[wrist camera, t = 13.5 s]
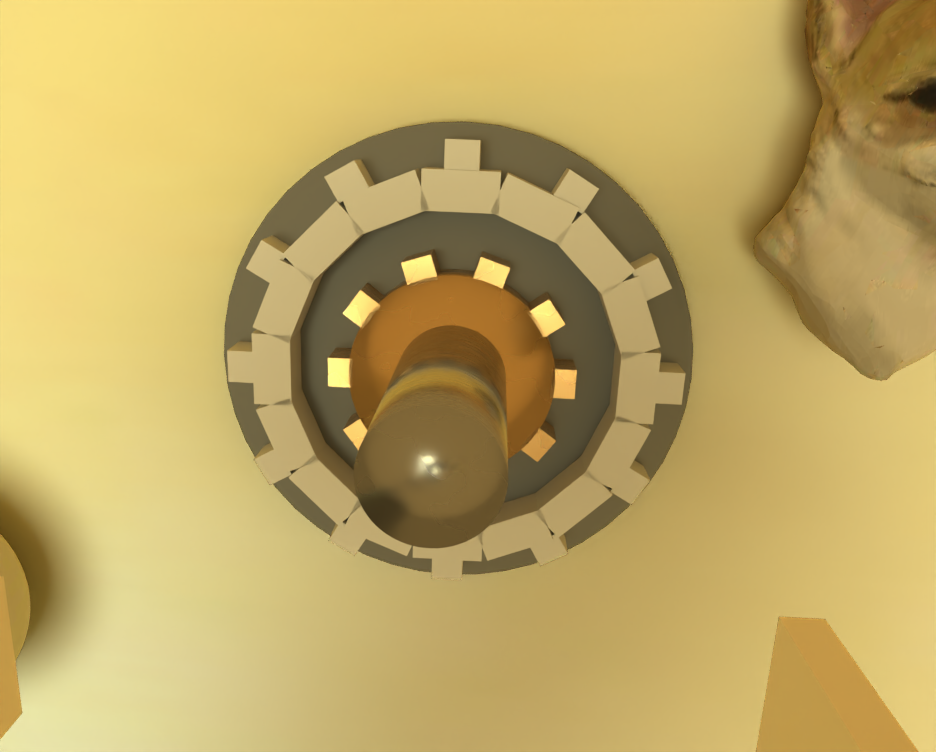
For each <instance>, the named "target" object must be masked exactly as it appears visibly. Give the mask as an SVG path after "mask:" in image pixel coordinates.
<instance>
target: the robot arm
mask: <svg viewBox="0 0 936 752" xmlns="http://www.w3.org/2000/svg"><path fill="white" fill-rule="evenodd" d="M21 714H22V707H21V700H20V692H19V685H18V678H17V670H16V663H15V656H14V649H13V641H12V634H11V627H10V619H9V612H8V605H7V597H6V590H5V583H4V576H0V739H1V738H2V737H3V735H4V734H5V733H6V732H7V731H8V729H9V728H10V727H11V726H12V725H13V723H14V722H15V721H16V720H17V719H18V717H19V716H20V715H21ZM756 752H918V750H917V749H916V747H915V746H914V745H913V743H912V742H911V740H910V739H909V737H908V736H907V735H906V733H905V732H904V730H903V729H902V728H901V726H900V725H899V723H898V722H897V720H896V719H895V718H894V716H893V715H892V713H891V712H890V711H889V709H888V708H887V706H886V705H885V703H884V702H883V701H882V699H881V698H880V696H879V695H878V694H877V692H876V691H875V689H874V688H873V686H872V685H871V684H870V682H869V681H868V679H867V678H866V677H865V675H864V674H863V672H862V671H861V669H860V668H859V667H858V665H857V664H856V662H855V661H854V660H853V658H852V657H851V655H850V654H849V652H848V651H847V650H846V648H845V647H844V645H843V644H842V643H841V641H840V640H839V638H838V637H837V635H836V634H835V633H834V631H833V630H832V628H831V627H830V626H829V624H828V623H827V621H826V620H825V619H814V618H795V617H779V619H778V625H777V631H776V637H775V642H774V648H773V654H772V660H771V666H770V672H769V678H768V684H767V689H766V695H765V701H764V707H763V713H762V719H761V725H760V730H759V736H758V742H757V748H756Z"/></svg>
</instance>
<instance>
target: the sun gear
mask: <svg viewBox="0 0 936 752" xmlns="http://www.w3.org/2000/svg"><path fill="white" fill-rule="evenodd" d="M401 265H402V268H403V271H404V275H405V278H406V280H405V281H404V282H402V283H400V284H399V285H397V286H396V287H394V288H393V289H392V290H391V291H389V292H388V293H387V294H386V295H385V296H384V295H382V294H381V293H380V292H379V291H377V290H376V289H375V288H373V287H372V286H371V285H370V284H368V283H367V284H366V285H365V286H364V287H363V288H362V289H361V290H360V291H359V293H358V294H357V295H356V297H355V298H354V299H353V301H352V302H351V303H350V304H349V306H348V307H347V308H346V310H345V311H344V312H343V314H344V315H345V316H346V317H348V318H349V319H350V320H352V321H353V322H354V323H356V324H357V325H358V326H359V327H360V329H359V331H358V333H357V335H356V337H355V340H354V343H353V346H352V348H335V350H334V351H333V352H332V353H331V355H330V356H329V357H328V386H329V387H349V388H350V392H351V397H352V401H353V403H354V406H355V409H356V413H355V414H353V415H352V416H350V418H349V420H348V422H347V423H346V425H345V427H344V429H343V430H344V432H345V433H346V434H347V436H348V437H349V438H350V440H351V441H352V442H353V444H354V445H355V446H356V448H357V449H358V453H357V456H356V460H355V464H354V485H355V490H356V494H357V497H358V500H359V502H360V504H361V506H362V508H363V510H364V512H365V513H366V514H367V516H368V517H369V519H370V520H371V521H372V522H373V523H374V524H375V525H376V526H377V527H378V528H379V529H380V530H382V531H383V532H384V533H386V534H387V535H389V536H390V537H392V538H394V539H396V540H398V541H400V542H402V543H405V544H408V545H411V546H416V547H421V548H445V547H451V546H455V545H459V544H461V543H464V542H466V541H468V540H470V539H472V538H474V537H476V536H477V535H479V534H480V533H481V532H483V531H484V530H485V529H486V528H487V527H488V526H489V525H490V524H491V523H492V522H493V521H494V519H495V518H496V517H497V515H498V513H499V512H500V510H501V508H502V506H503V503H504V501H505V497H506V494H507V488H508V459H509V458H511V457H512V456H513V455H515V454H516V453H518V452H519V451H520V450H522V451H523V452H525V453H526V454H527V455H529V456H530V457H531V458H533V459H534V460H535V461H537V462H538V461H539V460H540V459H541V458H542V456H543V455H544V454H545V453H546V452H547V451H548V450H549V449H550V447H551V446H552V445H553V444H554V443H555V442H556V437H555V431H554V427H553V426H552V425H550V424H549V423H548V422H547V421H545V419H546V416H547V414H548V412H549V409H550V406H551V403H552V399H553V398H563V399H575V388H576V376H577V369H576V366H575V363H574V360H573V359H556V358H554V357H553V353H552V349H551V345H550V342H549V338H548V335H549V334H551V333H553V332H554V331H556V330H557V329H559V328H561V327H562V326H564V325H565V322H564V319H563V316H562V314H561V313H560V311H559V310H558V308H557V307H556V305H555V303H554V302H553V300H552V299H551V297H550V296H549V294H548V293H547V291H546V292H545V293H543V294H542V295H540V296H539V297H537V298H535V299H534V300H532V301H531V302H529V303H528V301H527V300H525V299H524V298H523V297H522V296H521V295H520V294H519V293H518V292H517V291H515V290H514V289H513V288H511V287H510V286H509V285H507V284H505V281H506V278H507V275H508V273H509V270H510V262H509V261H507V260H504V259H501V258H499V257H496V256H493V255H491V254H488V253H486V252H483V251H482V253H481V255H480V258H479V261H478V263H477V266H476V269H475V271H471V270H463V269H442V270H440V267H439V264H438V260H437V257H436V253H435V250H434V249H432V250H429V251H425V252H421V253H418V254H414V255H411V256H407V257H405V258H404V260H403V261H402V262H401Z"/></svg>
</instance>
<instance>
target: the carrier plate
mask: <svg viewBox="0 0 936 752" xmlns="http://www.w3.org/2000/svg"><path fill="white" fill-rule="evenodd" d="M432 249H434V250H435V253H436V257H437V260H438V264H439V267H440V270H442V269H463V270H471V271H475V269H476V266H477V263H478V261H479V258H480V255H481V253H482V251H483V252H486V253H488V254H491V255H493V256H496V257H499V258H501V259H504V260H507V261H509V262H510V270H509V273H508V275H507V278H506V281H505V284H507V285H509V286H510V287H511V288H513V289H514V290H515V291H517V292H518V293H519V294H520V295H521V296H522V297H523V298H524V299H525V300H527V301H528V303H529V302H531V301H532V300H534V299H535V298H537V297H539V296H540V295H542V294H543V293H545V292H546V291H547V293H548V294H549V296H550V297H551V299H552V300H553V302H554V303H555V305H556V307H557V308H558V310H559V311H560V313H561V314H562V316H563V319H564V322H565V325H564V326H562V327H561V328H559V329H557V330H556V331H554V332H553V333H551V334H549V335H548V338H549V342H550V345H551V349H552V353H553V357H554V358H556V359H573V360H574V363H575V366H576V369H577V376H576V388H575V399H563V398H553V399H552V403H551V406H550V409H549V412H548V414H547V416H546V419H545V421H547V422H548V423H549V424H550V425H552V426H553V427H554V431H555V437H556V442H555V443H554V444H553V445H552V446H551V447H550V449H549V450H548V451H547V452H546V453H545V454H544V455H543V456H542V458H541V459H540V460H539V461H538V462H537V461H535V460H534V459H533V458H531V457H530V456H529V455H527V454H526V453H525V452H523V451H522V450H520V451H519V452H518V453H516V454H515V455H513V456H512V457H511V458H509V459H508V488H507V494H506V497H505V501H504V503H503V506H502V508H501V510H500V512H499V513H498V515H497V517H496V518H495V519H494V521H493V522H492V523H491V524H490V525H489V526H488V527H487V528H486V529H485V530H484V531H483V532H481V533H480V534H479V535H477V536H476V537H474V538H472V539H470V540H468V541H466V542H464V543H461V544H459V545H455V546H451V547H445V548H421V547H416V546H411V545H408V544H405V543H402V542H400V541H398V540H396V539H394V538H392V537H390V536H389V535H387V534H386V533H384V532H383V531H382V530H380V529H379V528H378V527H377V526H376V525H375V524H374V523H373V522H372V521H371V520H370V519H369V517H368V516H367V514H366V513H365V512H364V510H363V508H362V506H361V504H360V502H359V500H358V497H357V494H356V490H355V485H354V464H355V460H356V456H357V453H358V449H357V448H356V446H355V445H354V444H353V442H352V441H351V440H350V438H349V437H348V436H347V434H346V433H345V432H344V430H343V429H344V427H345V425H346V423H347V422H348V420H349V418H350V416H352V415H353V414H355V413H356V409H355V406H354V403H353V401H352V397H351V392H350V388H349V387H329V386H328V357H329V356H330V355H331V353H332V352H333V351H334V350H335V348H352V346H353V343H354V340H355V337H356V335H357V333H358V331H359V329H360V327H359V326H358V325H357V324H356V323H354V322H353V321H352V320H350V319H349V318H348V317H346V316H345V315H344V314H343V312H344V311H345V310H346V308H347V307H348V306H349V304H350V303H351V302H352V301H353V299H354V298H355V297H356V295H357V294H358V293H359V291H360V290H361V289H362V288H363V287H364V286H365V285H366V284H367V283H368V284H370V285H371V286H372V287H373V288H375V289H376V290H377V291H379V292H380V293H381V294H382V295H384V296H385V295H386V294H387V293H388V292H389V291H391V290H392V289H393V288H394V287H396V286H397V285H399V284H400V283H402V282H404V281H405V280H406V278H405V275H404V271H403V268H402V265H401V262H402V261H403V260H404V258H405V257H407V256H411V255H414V254H418V253H421V252H425V251H429V250H432ZM224 357H225V366H226V375H227V383H228V388H229V392H230V396H231V400H232V404H233V408H234V412H235V415H236V417H237V420H238V422H239V425H240V427H241V430H242V432H243V435H244V437H245V440H246V442H247V443H248V445H249V447H250V449H251V451H252V452H253V454H254V456H255V458H254V461H255V463H256V464H257V466H258V467H259V469H260V470H261V472H262V474H263V475H264V477H265V478H266V480H267V481H268V483H269V485H271V484H274V486H275V487H276V488H277V489H278V490H279V491H280V493H281V494H282V495H283V496H284V497H285V498H286V499H287V500H288V501H289V502H290V503H291V504H292V505H293V506H294V508H295V509H297V510H298V511H299V512H300V513H301V514H302V515H304V516H305V517H306V518H307V519H308V520H310V521H311V522H312V523H313V524H314V525H316V526H317V527H318V528H320V529H321V530H323V531H324V532H326V533H327V534H329V535H330V538H329V540H328V541H330V542H332V543H333V544H335V545H337V546H338V547H340V548H342V549H344V550H345V551H347V552H349V553H351V554H352V555H354V556H355V554H356V553H357V551H359V552H361V553H363V554H365V555H367V556H370V557H373V558H376V559H379V560H381V561H384V562H387V563H390V564H392V565H397V566H401V567H405V568H409V569H414V570H418V571H424V572H432V578H431V579H449V580H462V574H483V573H491V572H499V571H506V570H510V569H514V568H519V567H523V566H527V565H531V564H534V563H537V562H538V563H539V565H540V566H542V565H544V564H546V563H549V562H551V561H553V560H555V559H558V558H560V557H562V556H565V555H567V554H568V551H567V550H568V549H570V548H572V547H574V546H576V545H578V544H580V543H582V542H584V541H585V540H586V539H588V538H589V537H591V536H592V535H594V534H595V533H597V532H598V531H600V530H601V529H603V528H604V527H606V526H607V525H608V524H609V523H610V522H612V521H613V520H614V519H615V518H616V517H617V516H618V515H619V514H621V513H622V512H623V511H624V510H625V509H626V508H627V507H629V505H630V504H631V505H632V503H633V502H634V501H635V500H636V498H637V497H638V496H639V494H640V493H641V492H642V491H643V489H644V488H645V487H646V486H647V485H648V483H649V482H650V480H651V479H652V477H653V476H654V474H655V473H656V471H657V470H658V468H659V467H660V465H661V464H662V463H663V461H664V459H665V457H666V455H667V453H668V451H669V449H670V447H671V445H672V443H673V441H674V439H675V437H676V434H677V431H678V429H679V426H680V423H681V420H682V417H683V414H684V411H685V408H686V403H687V398H688V393H689V388H690V383H691V375H692V357H693V343H692V331H691V319H690V314H689V310H688V305H687V301H686V296H685V292H684V288H683V285H682V282H681V280H680V277H679V274H678V272H677V269H676V266H675V264H674V261H673V259H672V257H671V255H670V253H669V251H668V249H667V248H666V246H665V244H664V242H663V240H662V238H661V237H660V235H659V233H658V231H657V230H656V228H655V227H654V226H653V224H652V223H651V222H650V220H649V219H648V218H647V216H646V215H645V214H644V212H643V211H642V209H641V208H640V207H639V206H638V205H637V203H636V202H635V201H634V200H633V199H632V198H631V197H630V196H629V195H628V194H627V193H626V192H625V191H624V190H623V189H622V188H621V187H620V186H619V185H618V184H617V183H616V182H615V181H613V180H612V179H611V178H610V177H608V176H607V175H606V174H604V173H603V172H602V171H600V170H599V169H598V168H597V167H595V166H594V165H593V164H591V163H590V162H588V161H587V160H585V159H583V158H581V157H580V156H578V155H576V154H574V153H573V152H571V151H569V150H568V149H566V148H564V147H562V146H560V145H558V144H555V143H553V142H550V141H548V140H545V139H543V138H540V137H538V136H535V135H533V134H530V133H526V132H522V131H518V130H514V129H511V128H507V127H503V126H499V125H490V124H481V123H472V122H438V123H427V124H421V125H415V126H409V127H403V128H398V129H395V130H391V131H388V132H385V133H382V134H379V135H376V136H372V137H369V138H367V139H364V140H362V141H360V142H358V143H356V144H354V145H352V146H350V147H348V148H345V149H343V150H341V151H339V152H337V153H336V154H334V155H333V156H331V157H330V158H328V159H327V160H325V161H324V162H322V163H321V164H319V165H318V166H316V167H315V168H313V169H312V170H310V171H309V172H308V173H307V174H306V175H305V176H304V177H302V178H301V179H300V180H299V181H298V182H297V183H296V184H295V185H293V186H292V187H291V188H290V189H289V190H288V191H287V192H286V193H285V194H284V195H283V197H282V198H281V199H280V200H279V201H278V202H277V204H276V205H275V206H274V207H273V208H272V209H271V211H270V212H269V213H268V214H267V216H266V217H265V219H264V220H263V222H262V223H261V225H260V226H259V228H258V230H257V231H256V233H255V234H254V236H253V237H252V239H251V241H250V243H249V245H248V247H247V249H246V252H245V254H244V256H243V258H242V260H241V262H240V265H239V267H238V270H237V273H236V276H235V280H234V283H233V286H232V290H231V293H230V296H229V302H228V309H227V315H226V322H225V344H224Z"/></svg>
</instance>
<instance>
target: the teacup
mask: <svg viewBox="0 0 936 752" xmlns="http://www.w3.org/2000/svg"><path fill="white" fill-rule="evenodd" d="M0 576H4V583H5V590H6V597H7V605H8V612H9V619H10V627H11V634H12V641H13V649H14V656H15V661H16V659H17V657H18V655H19V653H20V651H21V649H22V646H23V644H24V641H25V638H26V635H27V631H28V627H29V621H30V594H29V587H28V583H27V580H26V576H25V573H24V571H23V568H22V566H21V564H20V562H19V560H18V558H17V556H16V554H15V553H14V551H13V549H12V548H11V546H10V545H9V544H8V543H7V541H6V540H5V539H4V538H3V536H2V535H1V534H0Z"/></svg>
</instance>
